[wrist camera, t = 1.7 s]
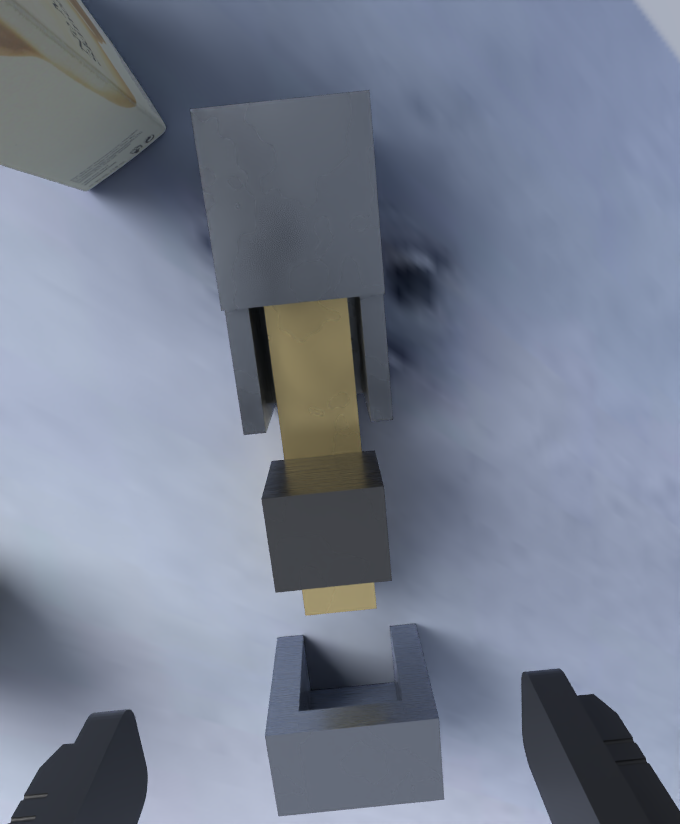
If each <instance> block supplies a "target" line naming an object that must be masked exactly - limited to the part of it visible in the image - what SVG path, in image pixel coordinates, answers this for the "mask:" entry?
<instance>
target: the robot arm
mask: <svg viewBox="0 0 680 824" xmlns="http://www.w3.org/2000/svg"><path fill="white" fill-rule="evenodd" d="M521 692H522V736H523V743H524V748H525V753H526V757H527V761H528V764H529V767H530V769H531V772H532V775H533V777H534V780H535V782H536V785H537V787H538V790H539V792H540V795H541V797H542V800H543V802H544V805H545V807H546V810H547V812H548V815H549V817H550V820H551V822H552V824H680V811H679V809H678V808H677V806H676V805H675V803H674V801H673V800H672V798H671V797H670V795H669V794H668V792H667V791H666V789H665V787H664V786H663V784H662V783H661V781H660V780H659V778H658V776H657V775H656V773H655V772H654V770H653V769H652V767H651V766H650V764H649V763H647V762H646V758H645V756H644V755H643V753H642V752H641V750H640V748H639V747H638V745H637V744H636V743H634V741H633V737H632V736H631V734H630V733H629V731H628V730H627V728H626V727H625V725H624V723H623V722H622V720H621V719H620V717H619V716H618V714H617V713H616V712H615V711H613V710H612V709H611V708H610V707H609V706H607V705H606V704H605V703H604V702H603V701H601V700H600V699H599V698H598V697H596V696H595V695H594V694H589V695H579V696H577V695H576V693H575V691H574V689H573V688H572V686H571V684H570V682H569V681H568V679H567V677H566V676H565V674H564V672H563V671H562V670H561V669H549V670H539V671H529V672H523V673H522V677H521ZM147 781H148V775H147V766H146V762H145V758H144V753H143V749H142V745H141V741H140V736H139V732H138V728H137V724H136V720H135V716H134V714H133V712H132V711H131V710H118V711H108V712H98V713H93V714H91V715H90V716H89V717H88V719H87V720H86V722H85V724H84V726H83V728H82V730H81V732H80V734H79V736H78V737H77V739H76V741H75V743H74V744H64V745H62V746H61V747H60V748H59V749H58V750H57V751H56V752H55V753H54V754H53V755H52V756H51V757H50V758H49V759H48V760H47V761H46V762H45V763H44V764H43V765H42V766H41V767H40V768H39V770H38V772H37V773H36V775H35V777H34V779H33V780H32V782H31V784H30V786H29V788H28V789H27V791H26V793H25V795H24V800H22V801H21V802H20V803H19V805H18V807H17V809H16V810H15V812H14V814H13V816H12V817H11V823H9V824H137V823H138V820H139V817H140V814H141V811H142V809H143V805H144V802H145V798H146V792H147Z"/></svg>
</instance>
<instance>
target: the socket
mask: <svg viewBox="0 0 680 824" xmlns="http://www.w3.org/2000/svg"><path fill="white" fill-rule="evenodd" d="M390 633H391V644H392V655H393V667H394V678H395V682H391V683H381V684H372V685H362V686H352V687H342V688H332V689H322V690H313V691H311V689H310V681H309V674H308V667H307V660H306V652H305V645H304V638H303V635H300V636H290V637H280V638H277V646H276V654H275V661H274V669H273V677H272V685H271V693H270V701H269V709H268V717H267V725H266V732H265V739H266V745H267V751H268V757H269V763H270V769H271V775H272V780H273V786H274V792H275V798H276V804H277V810H278V816H287V815H296V814H306V813H316V812H326V811H336V810H346V809H356V808H366V807H376V806H385V805H395V804H405V803H415V802H425V801H435V800H444V790H443V774H442V759H441V743H440V728H439V717H438V713H437V709H436V705H435V701H434V697H433V692H432V688H431V684H430V680H429V676H428V672H427V668H426V664H425V660H424V656H423V652H422V648H421V644H420V640H419V636H418V631H417V627H416V624H407V625H398V626H390Z"/></svg>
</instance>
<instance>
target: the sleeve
mask: <svg viewBox="0 0 680 824" xmlns="http://www.w3.org/2000/svg"><path fill="white" fill-rule="evenodd" d="M190 113H191V119H192V125H193V132H194V138H195V145H196V151H197V158H198V164H199V170H200V177H201V183H202V190H203V196H204V203H205V209H206V215H207V222H208V228H209V235H210V241H211V247H212V254H213V260H214V267H215V273H216V280H217V286H218V292H219V299H220V305H221V311H224V310H225V315H226V322H227V328H228V335H229V341H230V348H231V354H232V361H233V367H234V374H235V380H236V387H237V393H238V400H239V406H240V413H241V419H242V426H243V432H244V435H249V434H258V433H266V431H267V428H268V425H269V423H270V420H271V417H272V414H273V411H274V408H275V405H276V402H277V401H276V393H275V386H274V378H273V371H272V364H271V356H270V349H269V341H268V334H267V327H266V319H265V312H264V306H272V305H282V304H291V303H301V302H311V301H320V300H330V299H340V298H347V302H348V313H349V323H350V334H351V344H352V355H353V365H354V376H355V387H356V394H360V393H363V395H364V398H365V402H366V406H367V409H368V413H369V417H370V420H371V422H375V421H385V420H393V412H392V400H391V387H390V374H389V361H388V348H387V335H386V322H385V309H384V297H383V294H385V287H384V274H383V261H382V248H381V235H380V222H379V209H378V196H377V183H376V170H375V157H374V144H373V131H372V118H371V105H370V92H369V90H366V91H356V92H347V93H337V94H328V95H318V96H309V97H299V98H290V99H280V100H271V101H261V102H252V103H242V104H232V105H223V106H213V107H204V108H194V109H190Z"/></svg>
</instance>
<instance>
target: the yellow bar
mask: <svg viewBox="0 0 680 824" xmlns="http://www.w3.org/2000/svg"><path fill="white" fill-rule="evenodd" d="M264 312H265V319H266V327H267V334H268V341H269V349H270V356H271V364H272V371H273V378H274V386H275V393H276V401H277V408H278V415H279V423H280V430H281V438H282V445H283V452H284V460H278V461H272V462H271V465H270V469H269V473H268V477H267V481H266V484H265V488H264V492H263V496H262V505H263V512H264V518H265V525H266V532H267V538H268V545H269V552H270V558H271V565H272V572H273V578H274V585H275V592H285V591H295V590H302V593H303V600H304V608H305V615H316V614H326V613H336V612H346V611H355V610H365V609H375V608H376V597H375V587H374V582H383V581H392V578H391V566H390V555H389V543H388V531H387V520H386V508H385V496H384V486H383V482H382V478H381V474H380V470H379V466H378V462H377V458H376V454H375V451H365V452H362V450H361V439H360V429H359V418H358V408H357V397H356V387H355V376H354V365H353V355H352V344H351V334H350V323H349V313H348V302H347V298H340V299H330V300H320V301H311V302H301V303H291V304H282V305H272V306H264Z"/></svg>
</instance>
